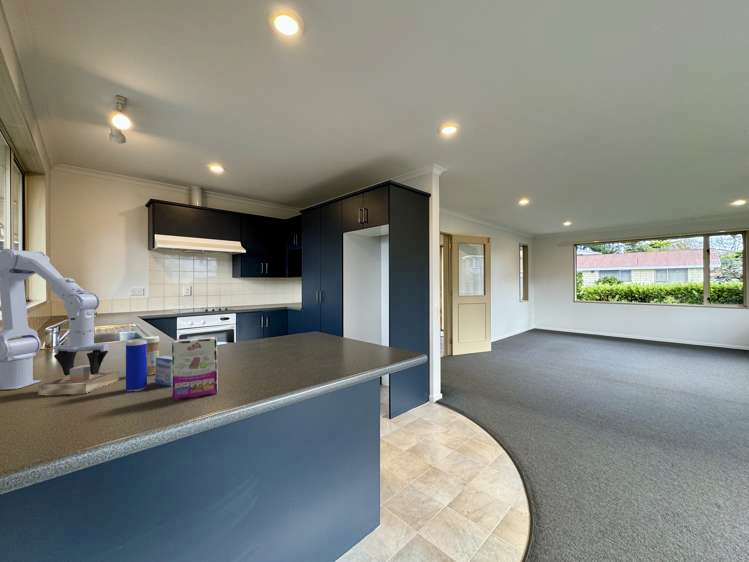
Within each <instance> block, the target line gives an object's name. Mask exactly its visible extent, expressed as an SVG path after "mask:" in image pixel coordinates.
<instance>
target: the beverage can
mask: <svg viewBox="0 0 749 562" xmlns="http://www.w3.org/2000/svg"><path fill="white" fill-rule="evenodd" d="M147 386H148V375H147V342H146V340H144V339H135V340H134V339H133V340H132V339H131V340H127V341H126V343H125V390H126V391H127V392H128V391H129V392H128V393H131V392H130V391H135V392H139V390H140V391H143V390H145V389H146V388H147ZM142 389H143V390H142Z"/></svg>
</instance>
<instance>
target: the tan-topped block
mask: <svg viewBox="0 0 749 562" xmlns="http://www.w3.org/2000/svg"><path fill="white" fill-rule="evenodd" d="M69 376H70V381H85V380H88V379H90V378H93V377H94V375H91V374H90V364H87V365H86V364H85V365H79V366H74V368H71V369H70V375H69Z"/></svg>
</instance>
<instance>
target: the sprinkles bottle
mask: <svg viewBox="0 0 749 562" xmlns="http://www.w3.org/2000/svg"><path fill="white" fill-rule="evenodd" d="M143 340H146V342H147V376H154V375H153V374H155V375H156V358H157V357H160V344H159V343H160V336H159V335H157V336H156V335H154V336H153V335H152V336H145V337H144V338H143Z"/></svg>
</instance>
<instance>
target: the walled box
mask: <svg viewBox="0 0 749 562" xmlns="http://www.w3.org/2000/svg"><path fill="white" fill-rule="evenodd" d="M94 375H103V377H101V378H98V379H95V380H93V381H90V382H87V383H75V384H59V382H61V381H64V380H67V379H70V375H67V376H64V377H61V378H58V379H55V380H52V381H48V382H45V383H43V384H38V389H37V390H38V396H39V395H45V396H62V395H61V394H71V395H86V394H85V393H87V394H89V393H88V392H90V393H92V392H94V391H96V390H95V389H97V390H99V389H101V387H102V388H104V387H106V386H108V384H109V385H111V384H114V383H116V382H118V381H117V380H119V381H120V371H119V370H118V371H99V372H98V373H97V374H94ZM115 381H116V382H115ZM113 382H114V383H113ZM110 383H111V384H110ZM105 385H106V386H105ZM103 386H104V387H103ZM98 388H99V389H98ZM93 390H94V391H93ZM91 391H92V392H91ZM39 397H40V396H39Z"/></svg>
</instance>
